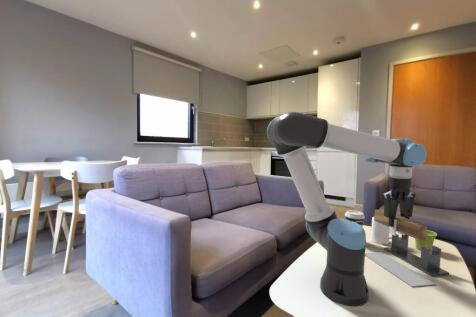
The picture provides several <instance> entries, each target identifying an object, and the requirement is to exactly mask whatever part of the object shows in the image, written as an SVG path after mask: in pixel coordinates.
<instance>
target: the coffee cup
mask: <svg viewBox="0 0 476 317" xmlns="http://www.w3.org/2000/svg"><path fill="white" fill-rule="evenodd" d="M344 216H345V219H346V220H349V221H353V222H355V223H357V224H359V225H360V226H362V227H364V219H366V217H365V214H364V213H363V212H362V211H358V210H354V209H353V210H346V212H345V213H344Z"/></svg>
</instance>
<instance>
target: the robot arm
mask: <svg viewBox="0 0 476 317" xmlns="http://www.w3.org/2000/svg"><path fill="white" fill-rule="evenodd" d="M267 125H268V126H267V129H266V135H267V138H268V141H269V142H270V143H271V144H272V145H273V146H274V148H275V150H276V152H277V155H278V156H279V157H281V158H283V160H284V162H285V164H286V166H287V168H288V171H289V173H290V175H291V179H292V181H293V183H294V186H295V188H296V190H297V194H298V196H299V198H300V199H301V203H302V204H303V206H304V209H305V212H306V213H305V214H304V220H305V229H306V231H307V233H308V234H309V236H310V237H311V239H313V240H314V241H316V242H317V243H318V244H319V245H320V246H321V247H322V248H323V249H324V250H326V265H325V268H324V270H323V273H322V276H321V277H320V283H319V284H320V285H319V288H320V290H321V292H322V294H323V295H324V296H326V297H327V298H328V299H330V300H332V301H334V302H336V303H338V304H342V305H345V306H351V307H353V306H354V307H355V306H356V307H358V306H363V305H365V304H367V303H368V301H369V299H370V298H369V297H370V290H369V287H368V283H367V280H366V277H365V258H366V256H365V253H366V246H367V245H366V244H367V234H366V230H365V229H364V228H363V227H364V226H363V227H362V226H360V225H359V224H357V223H355V222H353V221H349V220H346V218H338V216H337V213H336V210H335V208H334V207H333V206H331V205H328V202H327V199H326V197H325V194H324V192H323V190H322V188H321V184H320V182H319V179H318V177H317V174H316V172H315V170H314V167H313V164H312V163H311V162H312V161H311V160H310V158H309V155H308V153H307V152H308V151H306V149H307V147H309V148H314V149H321V147H322V148H328V149H332V150H337V151H340V152H346V153H349V154H354V155H359V156H361V157H362V158H361V159H362V160H363V161H364V162H366V163H371V164H373V163H381V164H389V174H388V175H389V176H390V177H388V186H389V187H390V188H389V190H388V191H387V192H383V193H382V196H383V210H384V216H386V217H388V218H389V224H388V225H389V226H390V227H389V235H391V236H392V235H394V236H396V234H397V233H398V234H400V235H401V236H402V235H405V234H404V233H401V232H399V231H397V230H396V227H397V220H396V219H395V217H396V215H397V212H398V206H399V214H400V215H399V216H401V217H404V218H407V219H409V220H411V219H410V218H412V217H413V212H414V211H413V210H414V203H415V198H416V195H417V193H415V192H412V191H411V188H412V180H413V179H412V177H413V176H412V175H413V167H419V166H422V165H423V163H425V161H426V159H427V156H428V154H427V150H426V148H425V146H423V144H420V143H414V140H413V139H411V138H392V139H390V138H387V137H383V136H379V135H375V134H371V133H367V132H363V131H360V130H356V129H355V130H354V129H352V128H347V127H343V126H339V125H336V124H332V123H331V124H330V122H329V121H328V120H327V119H325V118H322V117H321V118H320V117H318V116H317V117H316V116H314V115H311V114H306V113H304V112H299V111H289V112H286V113H284V114H281V115H278V116H275V118H273V119H272V120H271V121H270V122H269V124H267Z"/></svg>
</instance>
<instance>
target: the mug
mask: <svg viewBox="0 0 476 317" xmlns="http://www.w3.org/2000/svg"><path fill="white" fill-rule="evenodd" d="M371 218H372V219H371V233H370V234H371V236H370V241H371V242H373V243H376V244H380V245H389V244H390V240H392V236H390V233H389V227H388V226H386V225H383V224H381V223H379V222H376V221H374V216H372V217H371Z"/></svg>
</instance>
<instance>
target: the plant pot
mask: <svg viewBox="0 0 476 317" xmlns="http://www.w3.org/2000/svg"><path fill="white" fill-rule="evenodd" d="M437 236H438V234H437V232H435V231H432V230H429V229H427V233H426V239H423V240H417V239H415V238H414V244H415V248H416V249H417V250H419V251H421V246H424V247H426V248H428V249H430V251H432V246H433V245H434V242H435V239H436V237H437Z"/></svg>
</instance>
